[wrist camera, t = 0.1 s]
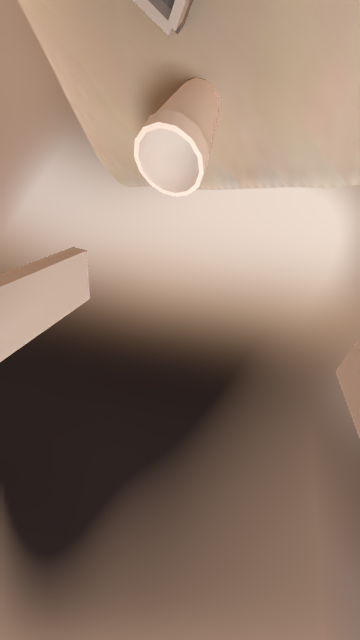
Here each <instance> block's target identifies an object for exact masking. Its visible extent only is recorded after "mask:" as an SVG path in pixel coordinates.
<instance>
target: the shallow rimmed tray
mask: <svg viewBox="0 0 360 640" xmlns="http://www.w3.org/2000/svg"><path fill="white" fill-rule="evenodd" d="M132 1H133V2H134V3H135V4H136V5H137V6H138V7H139V8H140V9H141V10H142V11H143V12H144V13H145V14H146V15H147V16H148V17H149V18H150V19H151V20H153V21H154V22H155V23H156V24H157V25H158V26H159V27H160V28H161V29H162V30H163V31H164V32H165V33H166V34H167V35H168V36H170V35H171V33H172V32H173V30H174V31H175V32H176V33H177V34H178V33H179V32H180V30H181V29H182V27H183V25H184V23H185V20H186V17H187V15H188V12H189V9H190V6H191V4H192V1H193V0H132Z"/></svg>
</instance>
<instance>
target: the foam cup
mask: <svg viewBox="0 0 360 640" xmlns="http://www.w3.org/2000/svg"><path fill="white" fill-rule="evenodd" d="M218 112H219V101H218V97H217V94H216V92H215V90H214V87H213V86H211V85H210V84H209V83H208V82H207V81H206V80H204V79H199V78H193V79H191V80H188V81H186V82H185V83H184V84H183V85H182V86H181V87H180V88H179V89H178V90H177V91H176V92H175V93H174V94H173V95H172V96H171V97H170V98H169V99H168V100H167V101H166V102H165V104H164V105H163V106H162V107H161V108H160V109H159V110H158V111H157V112H156V113H155V114H152V115H150V117H149V118H148V120H147V121H146V123H145V124H144V126H143V127H142V129H141V131H140V132H139V134H138V136H137V137H136V139H135V147H134V157H135V160H136V163H137V165H138V168H139V171H140V173H141V174H142V175H143V176H144V178H145V179H146V180H147V181H148V183H149V184H150V185H151V186H153V187H154V188H156V189H157V190H159V191H160V192H162V193H164V194H168V195H172V196H175V197H178V196H184V195H189V194H190V193H192V192H193V191H194V190H195V189H197V188H198V187H199V185H200V183H201V181H202V178H203V176H204V173H205V171H206V168H207V165H208V163H209V152H210V148H211V144H212V139H213V135H214V131H215V126H216V122H217V117H218Z"/></svg>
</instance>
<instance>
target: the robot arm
mask: <svg viewBox="0 0 360 640" xmlns="http://www.w3.org/2000/svg"><path fill="white" fill-rule="evenodd" d="M89 299H90V293H89V277H88V262H87V250H83V249H79V248H75V247H72V248H70V249H67V250H65V251H61V252H59V253H57V254H53V255H51V256H48V257H45V258H43V259H40V260H38V261H35V262H32V263H29V264H27V265H24V266H21V267H19V268H16V269H13V270H10V271H8V272H5V273H3V274H0V362H1V361H2V360H4V359H5V358H6V357H8V356H9V355H11V354H12V353H13V352H15V351H16V350H18V349H19V348H21V347H22V346H23V345H25V344H26V343H28V342H29V341H30V340H32V339H33V338H35V337H36V336H37V335H39V334H40V333H42V332H43V331H45V330H46V329H47V328H49V327H50V326H52V325H53V324H55V323H56V322H57V321H59V320H60V319H62V318H63V317H65V316H66V315H67V314H69V313H70V312H72V311H73V310H74V309H76V308H77V307H79V306H80V305H82V304H83V303H84V302H86V301H87V300H89ZM336 375H337V378H338V380H339V383H340V386H341V389H342V391H343V394H344V397H345V400H346V402H347V405H348V408H349V411H350V413H351V416H352V419H353V421H354V424H355V427H356V430H357V432H358V435H359V438H360V338H359V339H358V341H357V342H356V343H355V345H354V346H353V348H352V349H351V351H350V352H349V353H348V355H347V356H346V358H345V359H344V360H343V362H342V363H341V365H340V366H339V368H338V369H337V370H336Z"/></svg>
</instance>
